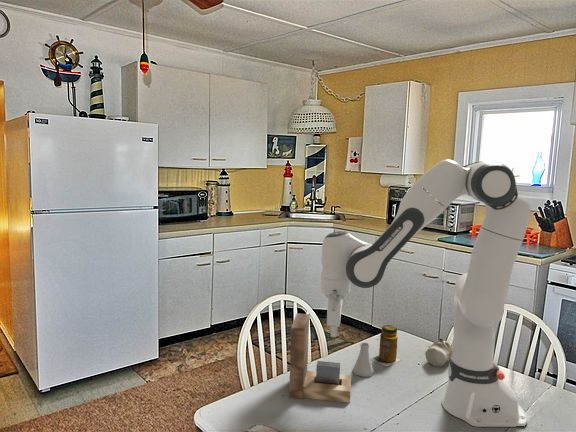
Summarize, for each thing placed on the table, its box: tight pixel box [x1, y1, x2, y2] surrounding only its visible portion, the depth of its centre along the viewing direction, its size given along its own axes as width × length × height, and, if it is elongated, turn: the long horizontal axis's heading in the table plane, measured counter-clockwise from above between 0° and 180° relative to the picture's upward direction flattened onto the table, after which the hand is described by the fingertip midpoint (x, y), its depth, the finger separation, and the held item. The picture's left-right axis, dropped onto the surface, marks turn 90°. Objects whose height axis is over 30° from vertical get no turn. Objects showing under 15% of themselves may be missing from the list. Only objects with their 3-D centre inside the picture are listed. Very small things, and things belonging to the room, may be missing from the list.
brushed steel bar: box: [315, 360, 341, 385], centre depth 141 cm, size 7×3×9 cm, turn 81°
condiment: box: [370, 324, 401, 367], centre depth 163 cm, size 7×8×12 cm
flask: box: [352, 341, 375, 378], centre depth 154 cm, size 7×7×10 cm
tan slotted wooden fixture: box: [288, 312, 352, 404], centre depth 140 cm, size 18×12×22 cm, turn 81°
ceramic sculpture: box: [425, 338, 452, 367], centre depth 164 cm, size 11×9×15 cm
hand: (334, 329), depth 139 cm, fingers open, 8 cm apart
